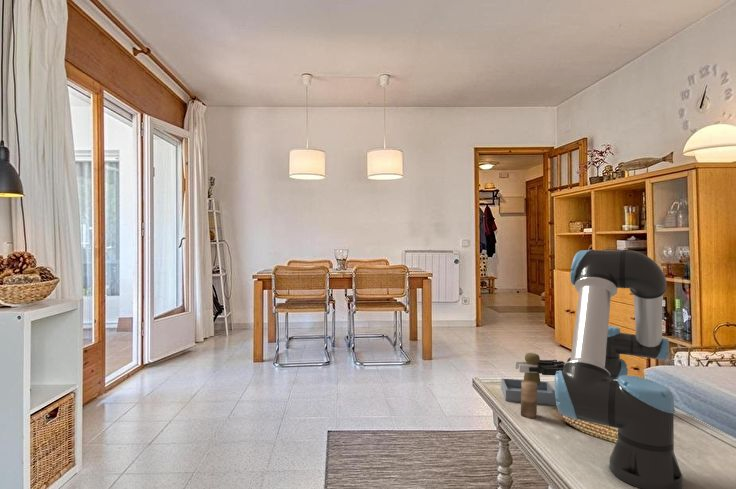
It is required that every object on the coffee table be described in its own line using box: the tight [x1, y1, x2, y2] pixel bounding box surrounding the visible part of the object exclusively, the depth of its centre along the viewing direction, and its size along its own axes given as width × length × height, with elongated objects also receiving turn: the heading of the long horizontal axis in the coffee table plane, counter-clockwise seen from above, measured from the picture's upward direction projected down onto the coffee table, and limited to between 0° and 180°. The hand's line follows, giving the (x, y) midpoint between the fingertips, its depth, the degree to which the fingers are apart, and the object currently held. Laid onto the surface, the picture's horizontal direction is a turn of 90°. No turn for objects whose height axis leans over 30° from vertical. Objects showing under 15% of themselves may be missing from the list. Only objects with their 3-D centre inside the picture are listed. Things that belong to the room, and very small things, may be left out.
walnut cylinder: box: [520, 379, 538, 419], centre depth 142 cm, size 5×5×11 cm
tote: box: [500, 377, 557, 406], centre depth 161 cm, size 15×18×4 cm
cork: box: [523, 352, 541, 386], centre depth 157 cm, size 6×6×11 cm
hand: (517, 366), depth 157 cm, fingers closed on cork, 4 cm apart
